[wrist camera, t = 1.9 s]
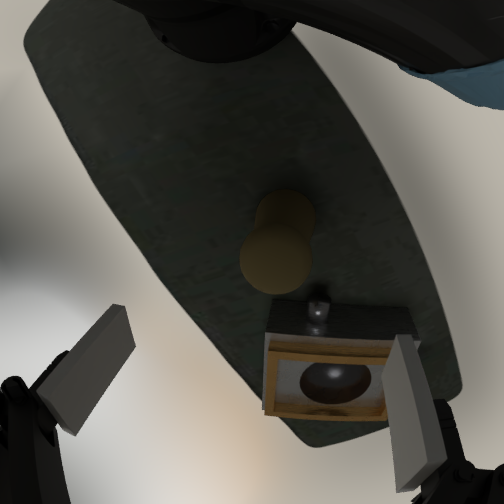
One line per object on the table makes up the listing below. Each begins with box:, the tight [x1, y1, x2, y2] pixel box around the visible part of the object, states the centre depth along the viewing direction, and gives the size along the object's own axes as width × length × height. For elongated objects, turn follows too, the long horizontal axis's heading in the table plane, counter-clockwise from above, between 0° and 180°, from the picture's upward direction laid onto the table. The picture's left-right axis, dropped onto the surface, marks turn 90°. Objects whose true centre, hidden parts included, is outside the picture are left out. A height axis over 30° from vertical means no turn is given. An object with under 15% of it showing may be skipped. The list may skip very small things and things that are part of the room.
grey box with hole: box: [262, 293, 421, 421], centre depth 32 cm, size 15×16×8 cm
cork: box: [239, 189, 316, 295], centre depth 25 cm, size 6×6×11 cm
